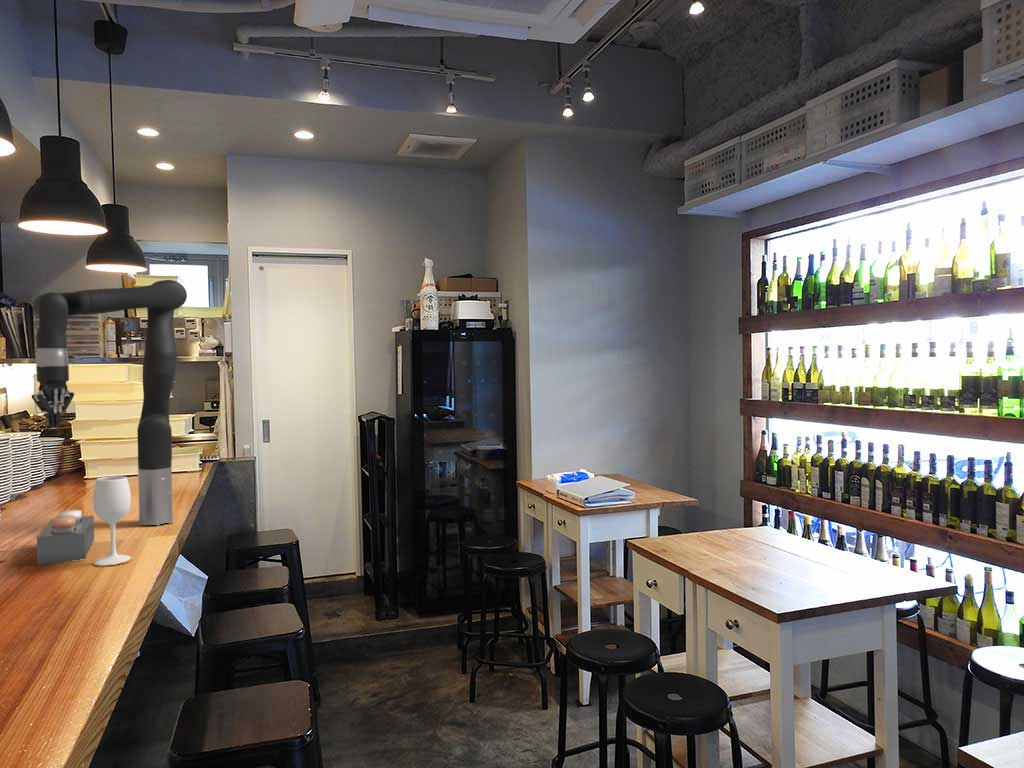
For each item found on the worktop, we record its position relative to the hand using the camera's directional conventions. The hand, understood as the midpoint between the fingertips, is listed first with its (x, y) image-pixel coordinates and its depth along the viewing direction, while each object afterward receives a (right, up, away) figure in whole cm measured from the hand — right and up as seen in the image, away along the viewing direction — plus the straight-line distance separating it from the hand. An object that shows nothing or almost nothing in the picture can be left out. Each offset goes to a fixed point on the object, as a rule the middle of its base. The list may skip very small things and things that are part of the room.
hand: (54, 426), depth 196 cm
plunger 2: (+14, -29, -17) cm, 37 cm away
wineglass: (+28, -33, -21) cm, 48 cm away
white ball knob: (+9, -30, -6) cm, 31 cm away
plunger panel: (+11, -32, -12) cm, 36 cm away
